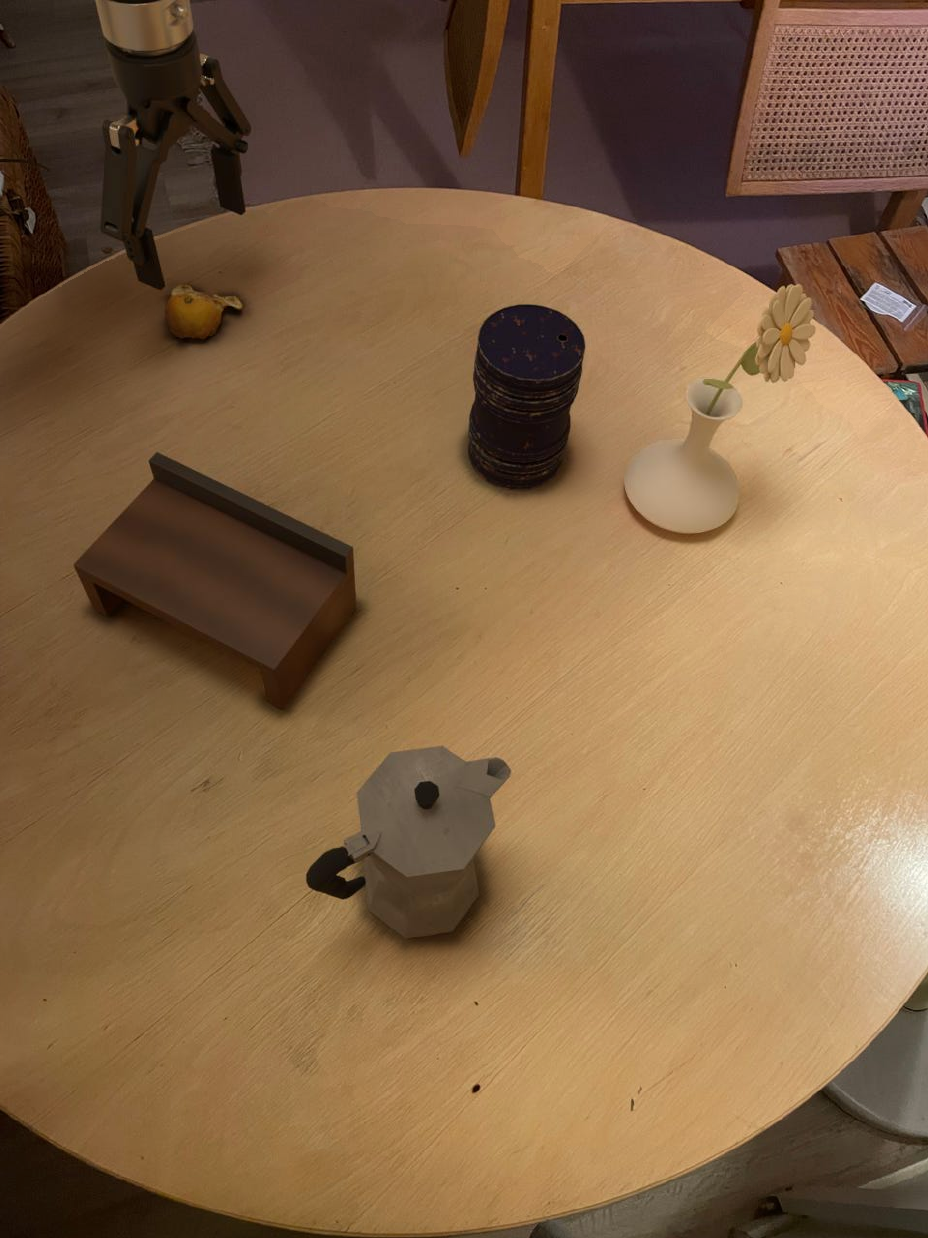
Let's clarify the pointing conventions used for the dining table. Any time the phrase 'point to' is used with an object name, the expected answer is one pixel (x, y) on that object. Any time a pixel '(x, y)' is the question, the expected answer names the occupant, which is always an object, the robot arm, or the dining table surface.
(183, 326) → the fruit
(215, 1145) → the dining table surface
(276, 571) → the shelf
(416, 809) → the coffeepot
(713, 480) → the flower in vase
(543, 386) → the dark blue barrel
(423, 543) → the dining table surface
